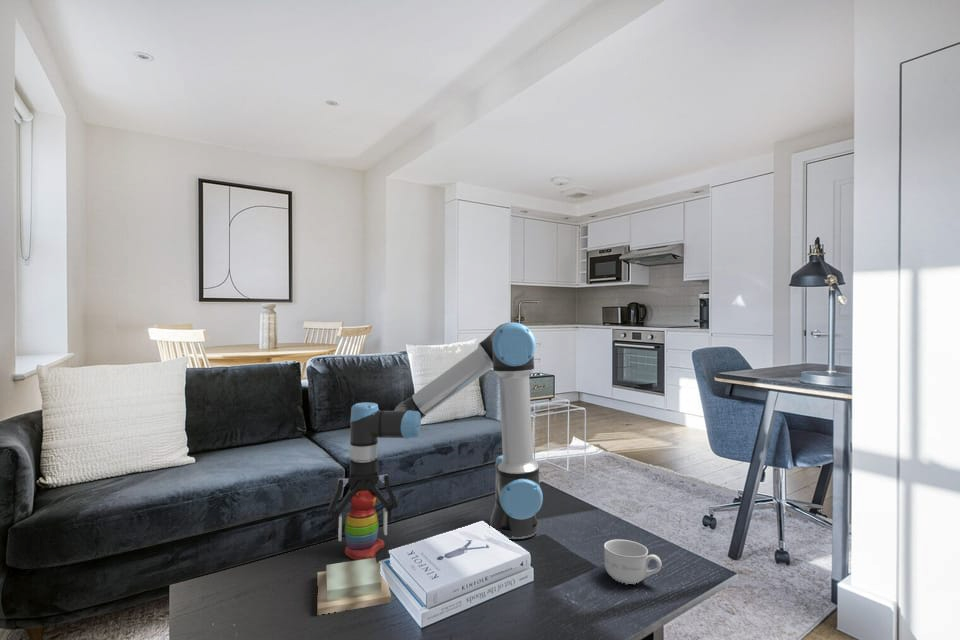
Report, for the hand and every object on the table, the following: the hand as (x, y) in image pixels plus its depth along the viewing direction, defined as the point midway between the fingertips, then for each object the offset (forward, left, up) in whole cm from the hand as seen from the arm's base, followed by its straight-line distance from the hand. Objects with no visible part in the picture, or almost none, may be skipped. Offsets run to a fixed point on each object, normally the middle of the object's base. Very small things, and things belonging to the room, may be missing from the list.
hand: (362, 536), depth 133 cm
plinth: (+4, +19, -4) cm, 20 cm away
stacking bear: (0, 0, -4) cm, 4 cm away
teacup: (-63, +36, -5) cm, 73 cm away
